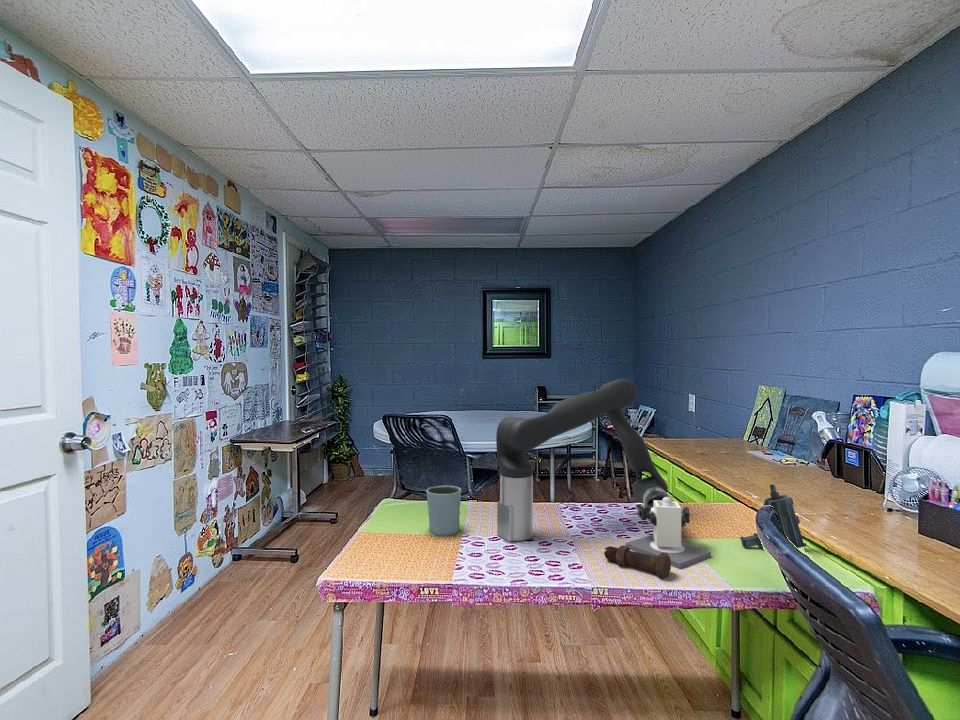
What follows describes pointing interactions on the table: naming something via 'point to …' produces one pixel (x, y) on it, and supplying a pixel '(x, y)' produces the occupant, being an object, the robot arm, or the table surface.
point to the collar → (667, 525)
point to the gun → (780, 520)
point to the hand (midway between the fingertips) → (668, 522)
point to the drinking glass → (444, 510)
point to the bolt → (640, 560)
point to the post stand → (669, 548)
